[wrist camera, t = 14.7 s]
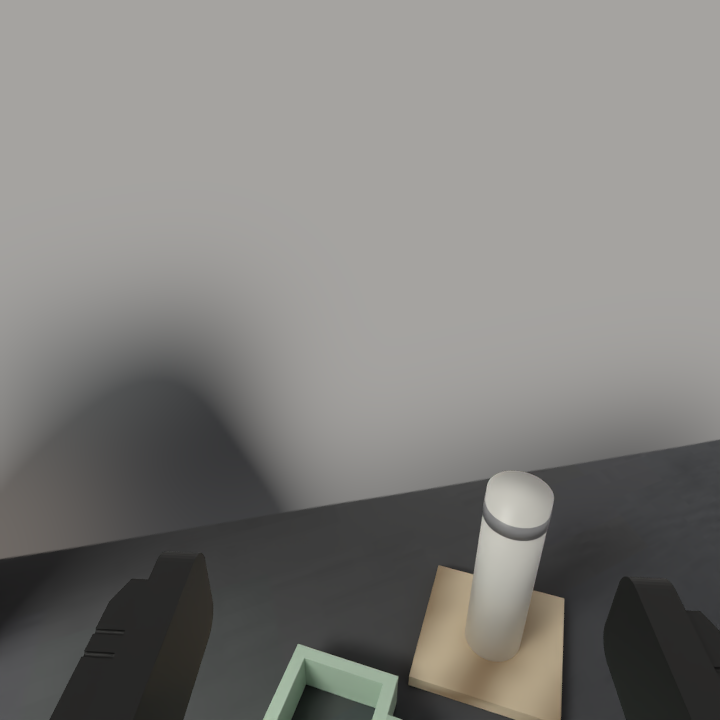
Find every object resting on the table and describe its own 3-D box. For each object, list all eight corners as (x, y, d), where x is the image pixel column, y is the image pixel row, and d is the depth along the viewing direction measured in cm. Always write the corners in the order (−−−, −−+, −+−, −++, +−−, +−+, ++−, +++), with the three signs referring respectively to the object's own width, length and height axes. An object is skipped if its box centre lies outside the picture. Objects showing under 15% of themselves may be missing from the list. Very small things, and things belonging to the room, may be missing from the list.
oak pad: (408, 684, 40) (409, 676, 40) (437, 573, 48) (438, 565, 48) (557, 733, 37) (560, 725, 37) (562, 606, 46) (564, 598, 45)
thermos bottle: (459, 652, 41) (481, 506, 34) (468, 605, 44) (490, 464, 38) (518, 670, 40) (553, 523, 33) (523, 620, 43) (556, 478, 36)
